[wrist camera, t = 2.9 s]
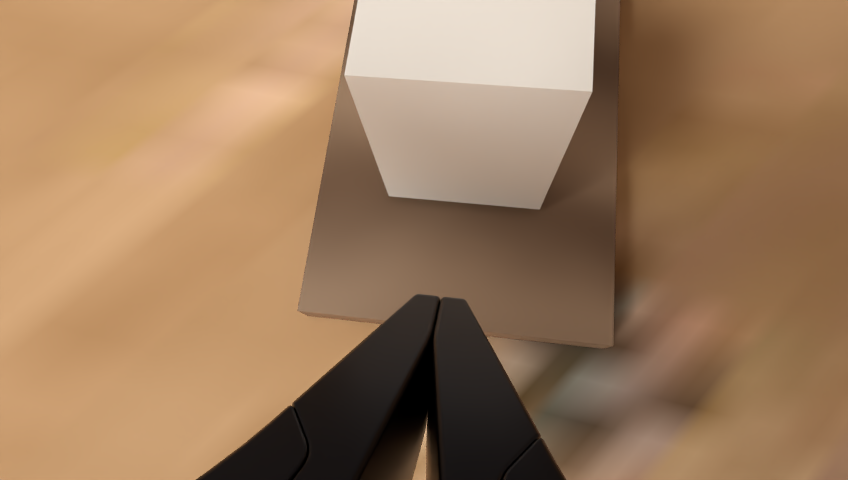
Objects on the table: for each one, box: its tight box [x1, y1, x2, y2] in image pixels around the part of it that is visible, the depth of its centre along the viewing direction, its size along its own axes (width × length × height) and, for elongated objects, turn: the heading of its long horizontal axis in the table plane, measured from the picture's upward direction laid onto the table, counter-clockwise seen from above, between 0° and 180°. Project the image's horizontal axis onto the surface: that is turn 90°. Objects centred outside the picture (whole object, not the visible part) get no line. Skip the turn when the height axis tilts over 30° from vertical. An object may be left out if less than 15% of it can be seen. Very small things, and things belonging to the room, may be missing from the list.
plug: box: [344, 0, 596, 210], centre depth 15 cm, size 6×5×7 cm
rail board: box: [297, 0, 620, 349], centre depth 20 cm, size 20×10×1 cm, turn 173°
